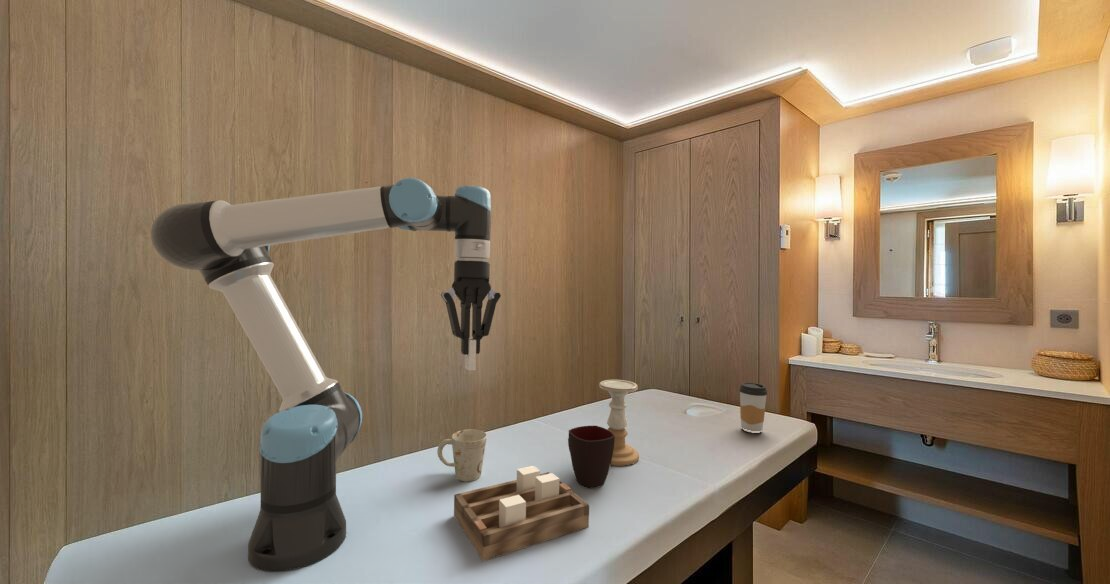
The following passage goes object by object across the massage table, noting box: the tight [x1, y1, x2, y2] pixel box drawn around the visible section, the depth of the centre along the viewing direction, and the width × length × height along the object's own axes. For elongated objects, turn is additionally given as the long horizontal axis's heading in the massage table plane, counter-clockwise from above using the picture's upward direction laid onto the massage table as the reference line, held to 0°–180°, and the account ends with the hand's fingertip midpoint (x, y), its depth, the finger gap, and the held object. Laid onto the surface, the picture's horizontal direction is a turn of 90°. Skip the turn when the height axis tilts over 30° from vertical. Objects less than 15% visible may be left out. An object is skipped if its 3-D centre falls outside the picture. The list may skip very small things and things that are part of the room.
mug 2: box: [567, 425, 615, 489], centre depth 106 cm, size 10×14×12 cm
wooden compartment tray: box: [453, 471, 590, 562], centre depth 88 cm, size 22×16×5 cm
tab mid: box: [535, 472, 560, 501], centre depth 91 cm, size 4×3×5 cm
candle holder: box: [598, 379, 640, 467], centre depth 120 cm, size 12×12×20 cm
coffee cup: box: [739, 382, 768, 431], centre depth 144 cm, size 8×8×15 cm
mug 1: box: [437, 428, 487, 482], centre depth 107 cm, size 8×13×10 cm, turn 78°
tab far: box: [516, 465, 541, 492], centre depth 94 cm, size 4×3×5 cm
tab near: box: [499, 495, 526, 527], centre depth 81 cm, size 4×3×5 cm
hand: (470, 368), depth 95 cm, fingers closed
